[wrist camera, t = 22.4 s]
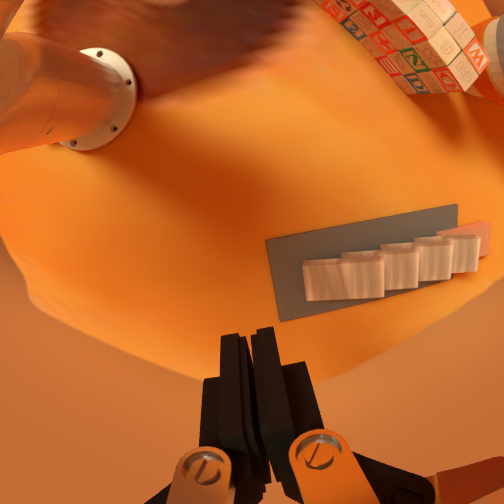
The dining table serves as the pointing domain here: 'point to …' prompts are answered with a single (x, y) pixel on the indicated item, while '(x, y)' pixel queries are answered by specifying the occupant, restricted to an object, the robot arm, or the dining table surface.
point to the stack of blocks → (415, 41)
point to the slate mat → (337, 242)
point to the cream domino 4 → (460, 251)
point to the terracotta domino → (478, 228)
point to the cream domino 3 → (430, 258)
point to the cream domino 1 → (344, 278)
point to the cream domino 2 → (395, 266)
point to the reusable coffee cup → (499, 68)
